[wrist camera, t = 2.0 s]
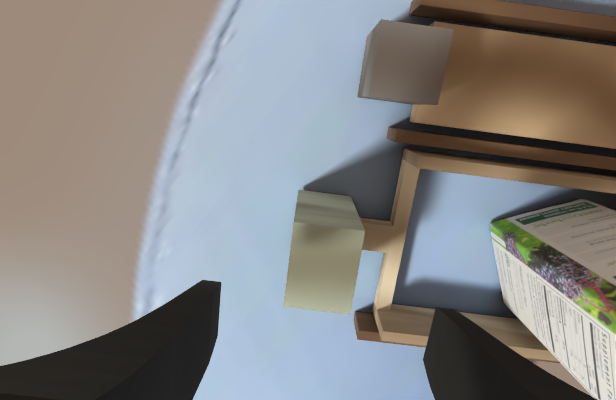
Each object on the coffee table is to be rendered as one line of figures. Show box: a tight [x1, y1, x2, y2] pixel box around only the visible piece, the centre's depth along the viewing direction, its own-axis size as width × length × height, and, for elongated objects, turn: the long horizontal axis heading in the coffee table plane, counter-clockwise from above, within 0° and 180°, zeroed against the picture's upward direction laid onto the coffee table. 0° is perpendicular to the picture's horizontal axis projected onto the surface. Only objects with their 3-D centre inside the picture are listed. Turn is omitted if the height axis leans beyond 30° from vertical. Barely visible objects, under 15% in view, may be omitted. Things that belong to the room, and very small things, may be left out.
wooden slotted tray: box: [284, 148, 616, 362], centre depth 19 cm, size 10×20×6 cm, turn 83°
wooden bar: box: [358, 19, 616, 149], centre depth 17 cm, size 5×17×4 cm, turn 83°
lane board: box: [354, 0, 616, 363], centre depth 20 cm, size 18×17×2 cm
